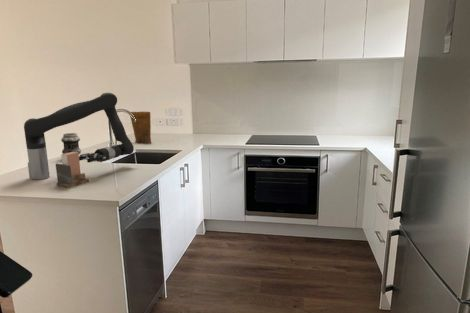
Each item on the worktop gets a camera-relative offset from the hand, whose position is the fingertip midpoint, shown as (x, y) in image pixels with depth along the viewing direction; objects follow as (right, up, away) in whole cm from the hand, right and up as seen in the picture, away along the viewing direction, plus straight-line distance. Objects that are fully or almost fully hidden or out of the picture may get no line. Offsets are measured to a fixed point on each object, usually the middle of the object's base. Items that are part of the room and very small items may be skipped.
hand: (82, 159), depth 183 cm
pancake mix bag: (+2, +13, +115) cm, 115 cm away
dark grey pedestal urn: (-31, 0, +53) cm, 61 cm away
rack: (-3, -13, -4) cm, 13 cm away
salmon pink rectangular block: (-3, -11, -4) cm, 12 cm away
